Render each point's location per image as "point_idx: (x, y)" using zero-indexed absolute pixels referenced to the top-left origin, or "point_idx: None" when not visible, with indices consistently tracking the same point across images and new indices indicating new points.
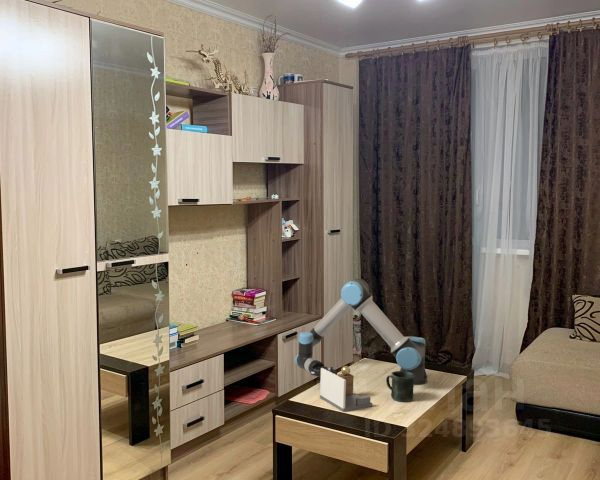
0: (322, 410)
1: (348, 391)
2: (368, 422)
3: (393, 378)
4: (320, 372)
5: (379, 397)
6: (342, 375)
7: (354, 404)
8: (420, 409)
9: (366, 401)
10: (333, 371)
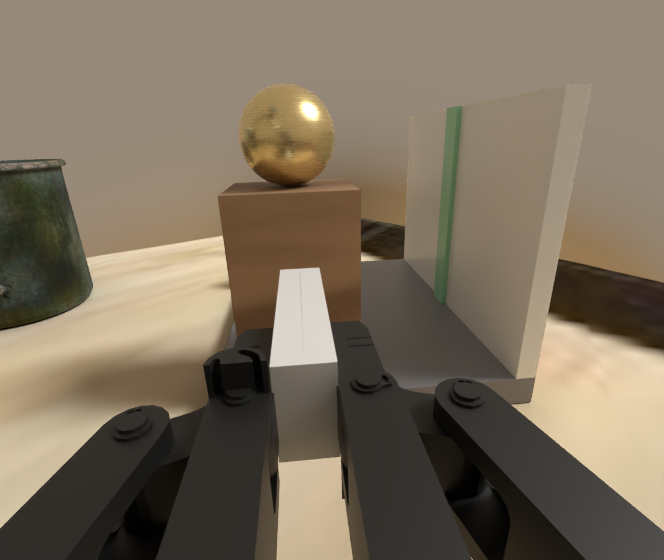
0: None
1: None
2: None
3: (47, 183)
4: (655, 547)
5: (100, 331)
6: (325, 184)
7: None
8: (119, 255)
9: None
10: (79, 550)
